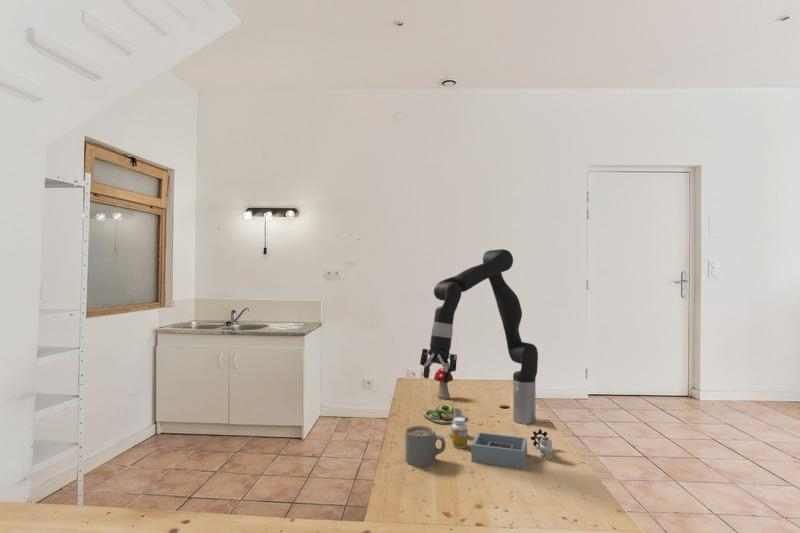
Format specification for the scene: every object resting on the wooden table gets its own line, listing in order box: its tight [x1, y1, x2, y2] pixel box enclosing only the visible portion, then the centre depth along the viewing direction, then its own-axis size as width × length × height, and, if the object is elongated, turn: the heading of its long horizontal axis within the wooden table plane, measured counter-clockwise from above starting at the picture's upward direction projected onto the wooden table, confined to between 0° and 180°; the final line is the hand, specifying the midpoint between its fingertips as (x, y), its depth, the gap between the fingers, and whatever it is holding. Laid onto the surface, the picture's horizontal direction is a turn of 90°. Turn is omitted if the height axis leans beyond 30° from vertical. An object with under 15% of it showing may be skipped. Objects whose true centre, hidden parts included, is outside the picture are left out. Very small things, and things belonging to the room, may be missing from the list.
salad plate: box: [423, 402, 467, 425], centre depth 193 cm, size 19×18×5 cm
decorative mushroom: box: [433, 367, 454, 400], centre depth 225 cm, size 10×9×15 cm
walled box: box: [470, 431, 528, 470], centre depth 152 cm, size 13×17×6 cm
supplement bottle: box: [451, 417, 468, 449], centre depth 162 cm, size 5×5×10 cm
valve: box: [530, 428, 554, 461], centre depth 155 cm, size 7×7×12 cm
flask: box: [448, 408, 463, 438], centre depth 173 cm, size 7×7×10 cm
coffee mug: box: [404, 425, 447, 468], centre depth 149 cm, size 13×10×10 cm
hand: (435, 380), depth 162 cm, fingers open, 8 cm apart
